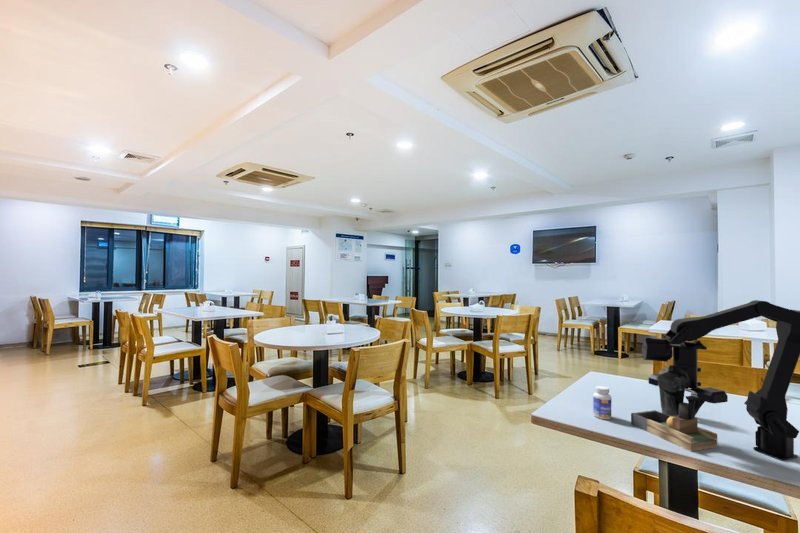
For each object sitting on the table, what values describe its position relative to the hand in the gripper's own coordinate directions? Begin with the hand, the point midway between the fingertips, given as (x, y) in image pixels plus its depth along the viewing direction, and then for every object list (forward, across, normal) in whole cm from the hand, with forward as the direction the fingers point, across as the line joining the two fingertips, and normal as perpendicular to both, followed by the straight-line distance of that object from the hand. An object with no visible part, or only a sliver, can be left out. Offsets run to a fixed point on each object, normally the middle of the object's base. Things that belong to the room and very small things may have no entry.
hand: (685, 417), depth 107 cm
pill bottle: (+7, -21, -9) cm, 24 cm away
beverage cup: (+7, -17, +16) cm, 24 cm away
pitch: (+7, -1, 0) cm, 7 cm away
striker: (+5, 0, 0) cm, 5 cm away
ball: (+5, -3, 0) cm, 6 cm away
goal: (+7, -10, 0) cm, 13 cm away
